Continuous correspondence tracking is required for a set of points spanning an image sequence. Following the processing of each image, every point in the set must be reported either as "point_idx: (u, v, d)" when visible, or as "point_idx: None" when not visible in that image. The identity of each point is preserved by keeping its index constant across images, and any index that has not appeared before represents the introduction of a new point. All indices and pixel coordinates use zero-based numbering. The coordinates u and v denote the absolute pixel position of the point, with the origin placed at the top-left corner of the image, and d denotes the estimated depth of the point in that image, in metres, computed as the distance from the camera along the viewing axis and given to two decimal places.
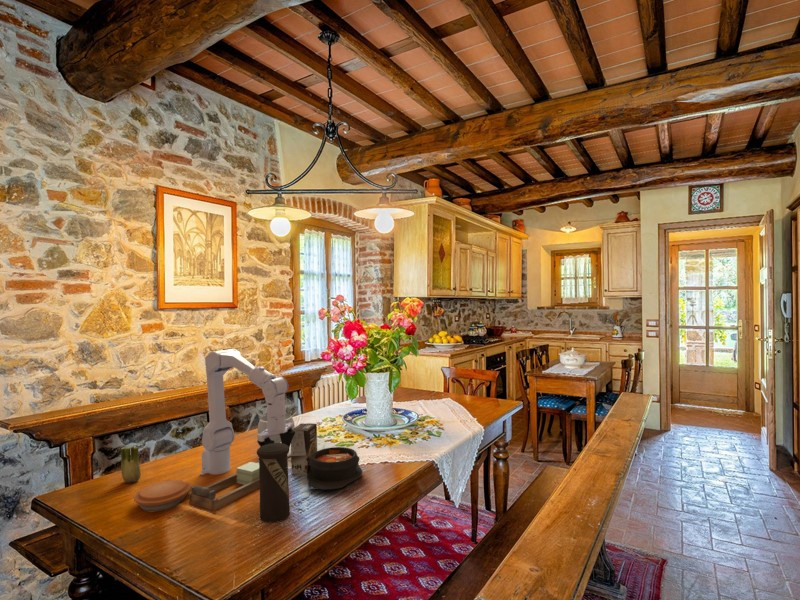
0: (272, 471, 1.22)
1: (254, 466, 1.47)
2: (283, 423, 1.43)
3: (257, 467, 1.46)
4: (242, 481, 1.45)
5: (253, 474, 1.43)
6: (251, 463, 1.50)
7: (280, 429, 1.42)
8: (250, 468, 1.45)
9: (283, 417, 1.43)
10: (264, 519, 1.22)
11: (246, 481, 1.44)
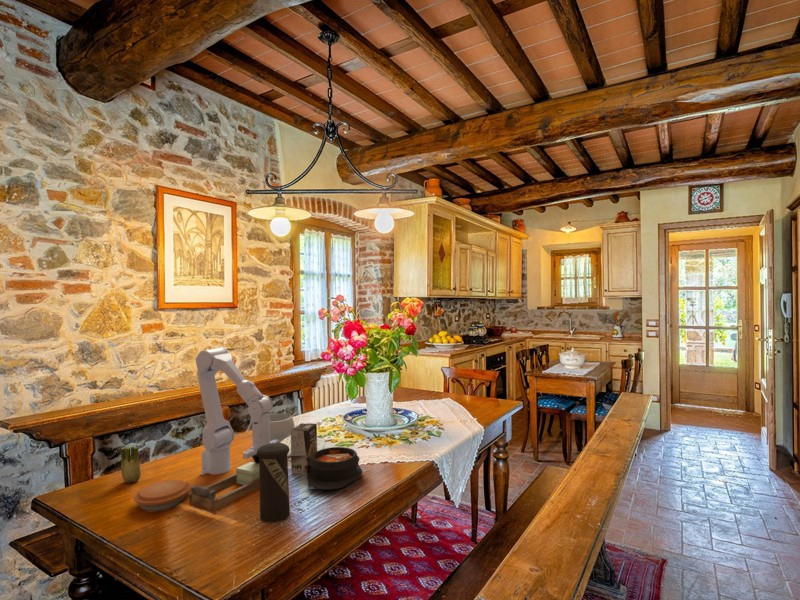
0: (272, 471, 1.22)
1: (254, 466, 1.47)
2: (268, 441, 1.50)
3: (257, 467, 1.46)
4: (242, 481, 1.45)
5: (253, 474, 1.43)
6: (251, 463, 1.49)
7: None
8: (250, 468, 1.45)
9: (268, 435, 1.50)
10: (264, 519, 1.22)
11: (246, 481, 1.44)
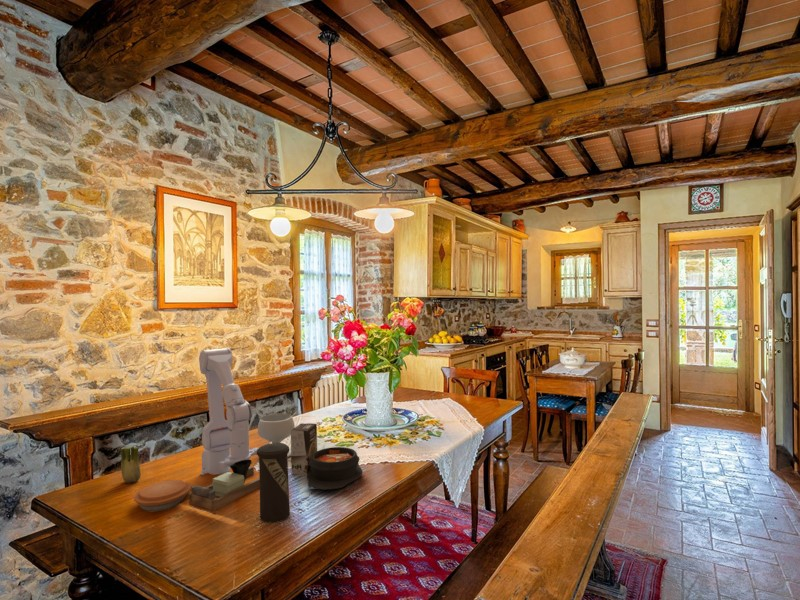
0: (272, 471, 1.22)
1: (231, 476, 1.39)
2: (246, 449, 1.42)
3: (234, 478, 1.38)
4: (219, 493, 1.36)
5: (230, 485, 1.35)
6: (229, 473, 1.41)
7: (243, 456, 1.41)
8: (227, 479, 1.37)
9: (246, 443, 1.42)
10: (264, 519, 1.22)
11: (222, 493, 1.35)
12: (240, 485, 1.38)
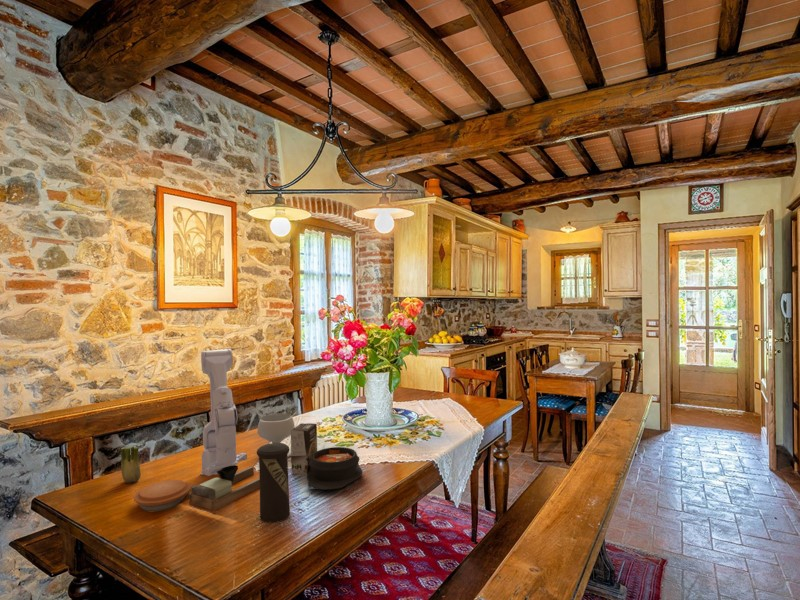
0: (272, 471, 1.22)
1: (218, 482, 1.34)
2: (233, 455, 1.37)
3: (221, 484, 1.33)
4: None
5: (217, 492, 1.31)
6: (216, 479, 1.37)
7: (230, 461, 1.36)
8: (213, 485, 1.33)
9: (233, 449, 1.37)
10: (264, 519, 1.22)
11: None
12: (227, 491, 1.34)
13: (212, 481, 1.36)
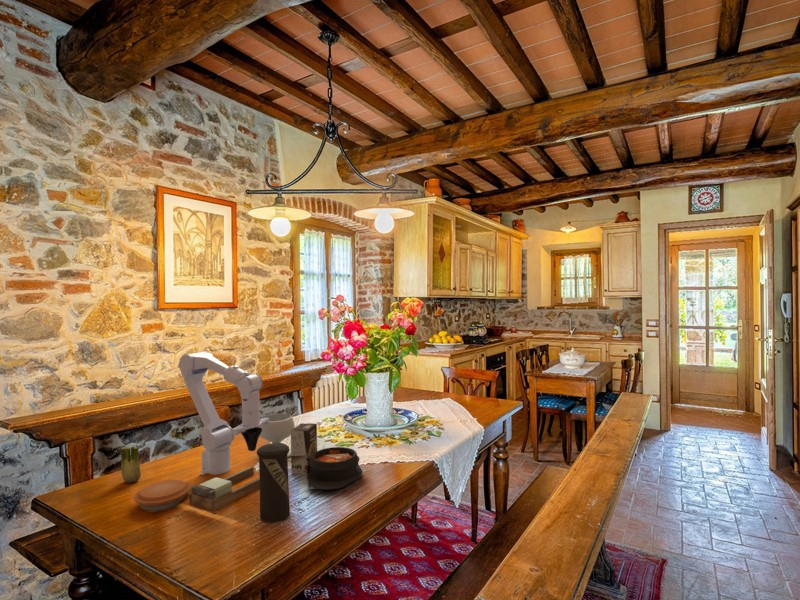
0: (272, 471, 1.22)
1: (218, 482, 1.34)
2: (257, 418, 1.50)
3: (221, 484, 1.33)
4: None
5: (217, 492, 1.31)
6: (216, 479, 1.37)
7: (254, 424, 1.49)
8: (213, 485, 1.33)
9: (257, 412, 1.50)
10: (264, 519, 1.22)
11: None
12: (227, 491, 1.34)
13: (212, 481, 1.36)
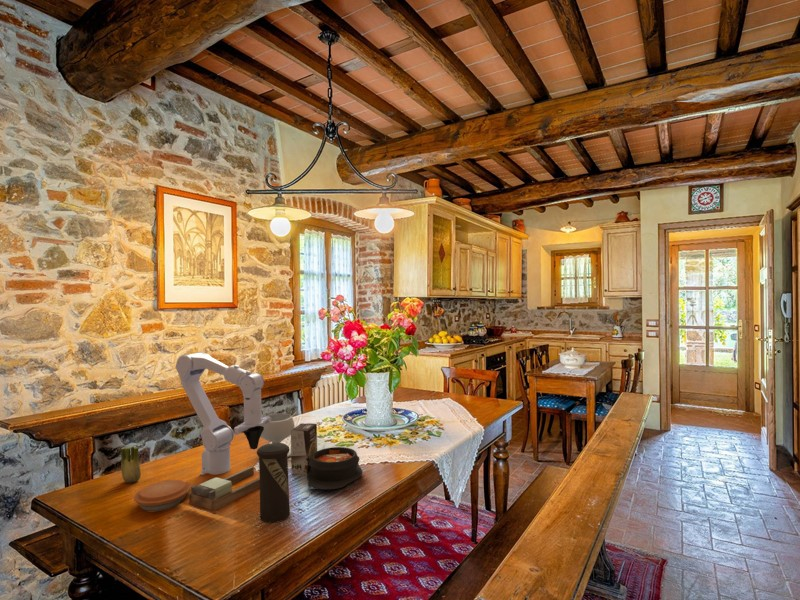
0: (272, 471, 1.22)
1: (218, 482, 1.34)
2: (259, 416, 1.52)
3: (221, 484, 1.33)
4: None
5: (217, 492, 1.31)
6: (216, 479, 1.37)
7: (256, 422, 1.51)
8: (213, 485, 1.33)
9: (259, 411, 1.52)
10: (264, 519, 1.22)
11: None
12: (227, 491, 1.34)
13: (212, 481, 1.36)
